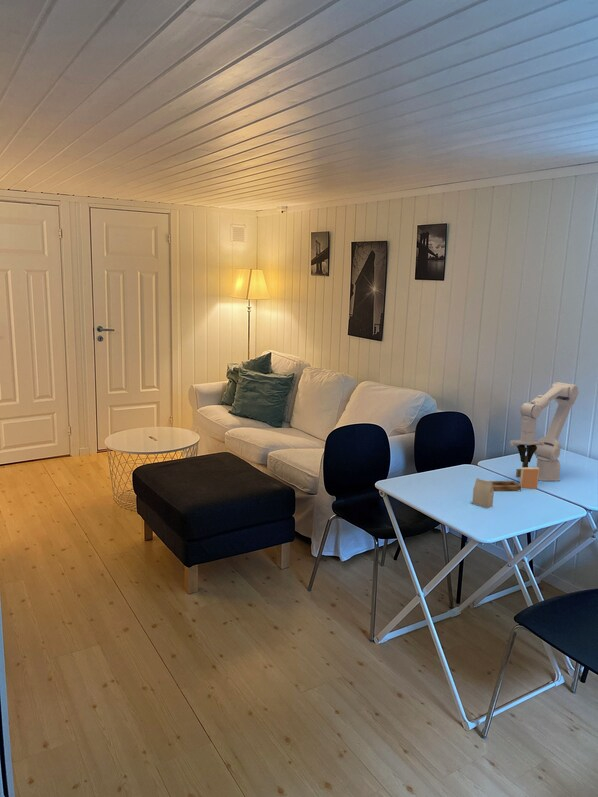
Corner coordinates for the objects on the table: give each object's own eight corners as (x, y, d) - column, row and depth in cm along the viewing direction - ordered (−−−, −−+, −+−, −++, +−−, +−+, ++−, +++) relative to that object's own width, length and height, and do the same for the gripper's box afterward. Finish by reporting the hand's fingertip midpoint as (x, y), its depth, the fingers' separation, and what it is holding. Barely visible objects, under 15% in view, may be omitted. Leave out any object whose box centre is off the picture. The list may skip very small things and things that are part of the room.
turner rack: (513, 485, 267) (514, 480, 266) (520, 491, 260) (521, 486, 259) (486, 485, 266) (486, 481, 265) (492, 491, 259) (492, 486, 258)
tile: (535, 487, 264) (537, 467, 263) (537, 488, 263) (539, 468, 261) (519, 487, 264) (521, 467, 262) (521, 489, 262) (523, 468, 260)
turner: (531, 476, 268) (533, 455, 267) (532, 477, 267) (534, 456, 266) (515, 476, 268) (517, 455, 266) (517, 477, 267) (518, 456, 265)
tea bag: (487, 508, 239) (489, 483, 238) (472, 503, 244) (474, 479, 242) (492, 505, 242) (494, 481, 240) (477, 501, 247) (478, 477, 245)
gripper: (540, 428, 268) (537, 458, 271) (507, 428, 267) (505, 459, 270) (547, 432, 262) (544, 463, 264) (514, 432, 260) (512, 463, 263)
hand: (525, 461), depth 266 cm, fingers closed on turner
